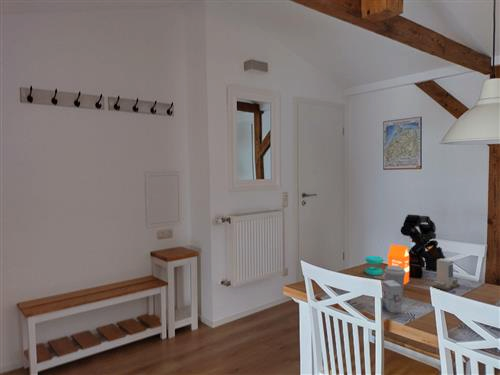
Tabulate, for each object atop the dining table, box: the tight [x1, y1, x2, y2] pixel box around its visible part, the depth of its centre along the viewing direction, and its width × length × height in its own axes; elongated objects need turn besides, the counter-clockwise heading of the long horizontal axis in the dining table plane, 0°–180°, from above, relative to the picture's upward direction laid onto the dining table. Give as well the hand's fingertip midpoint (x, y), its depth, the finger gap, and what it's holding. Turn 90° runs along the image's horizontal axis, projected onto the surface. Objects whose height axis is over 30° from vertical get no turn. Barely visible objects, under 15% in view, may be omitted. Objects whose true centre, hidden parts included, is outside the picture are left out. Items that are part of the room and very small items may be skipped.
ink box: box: [382, 280, 402, 314], centre depth 162 cm, size 9×5×12 cm, turn 5°
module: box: [436, 258, 454, 287], centre depth 193 cm, size 6×4×13 cm
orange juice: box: [387, 244, 410, 285], centre depth 204 cm, size 8×9×20 cm
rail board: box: [431, 277, 460, 292], centre depth 193 cm, size 14×7×4 cm, turn 125°
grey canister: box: [383, 265, 406, 302], centre depth 175 cm, size 10×10×15 cm
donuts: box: [364, 255, 384, 277], centre depth 219 cm, size 10×10×10 cm
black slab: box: [423, 246, 446, 273], centre depth 225 cm, size 4×13×15 cm, turn 47°
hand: (435, 259), depth 197 cm, fingers open, 9 cm apart
